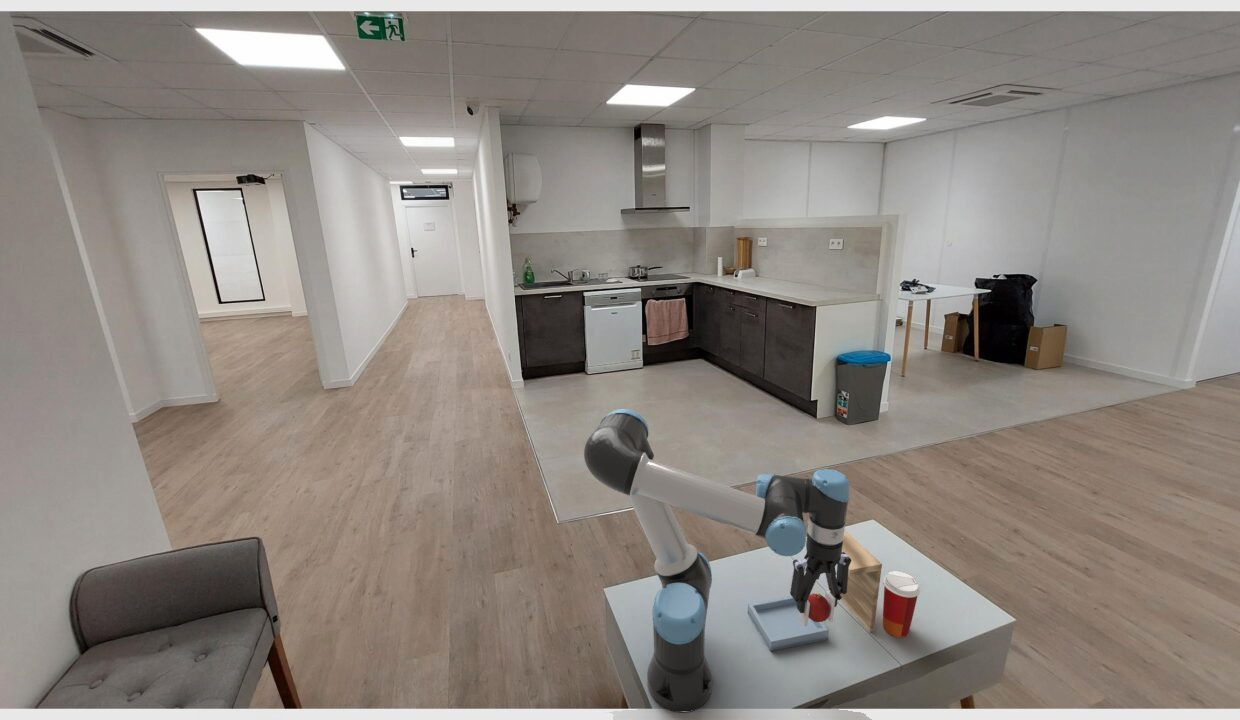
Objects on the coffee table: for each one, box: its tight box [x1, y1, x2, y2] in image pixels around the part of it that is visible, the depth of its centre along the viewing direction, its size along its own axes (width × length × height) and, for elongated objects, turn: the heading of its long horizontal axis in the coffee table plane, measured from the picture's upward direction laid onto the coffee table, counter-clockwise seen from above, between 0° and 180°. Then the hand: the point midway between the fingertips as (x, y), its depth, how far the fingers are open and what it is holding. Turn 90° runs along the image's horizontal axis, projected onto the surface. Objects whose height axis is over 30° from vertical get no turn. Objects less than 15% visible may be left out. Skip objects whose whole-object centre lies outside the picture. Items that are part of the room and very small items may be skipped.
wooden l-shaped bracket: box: [840, 530, 883, 633], centre depth 130 cm, size 9×14×21 cm, turn 11°
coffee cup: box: [882, 570, 921, 639], centre depth 125 cm, size 8×8×15 cm
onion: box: [808, 592, 830, 623], centre depth 115 cm, size 6×6×8 cm
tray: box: [747, 595, 829, 652], centre depth 129 cm, size 16×13×3 cm
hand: (815, 619), depth 116 cm, fingers closed on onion, 6 cm apart
